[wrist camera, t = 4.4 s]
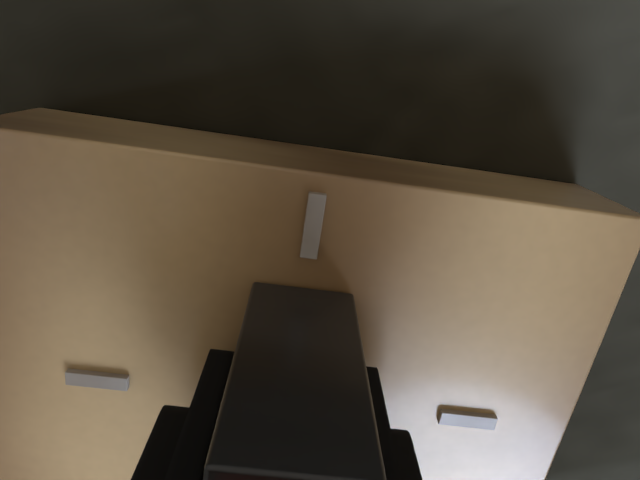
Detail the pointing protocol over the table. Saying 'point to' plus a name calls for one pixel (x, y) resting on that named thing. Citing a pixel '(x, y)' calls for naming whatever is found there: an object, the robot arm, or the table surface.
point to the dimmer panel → (290, 270)
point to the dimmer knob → (296, 393)
